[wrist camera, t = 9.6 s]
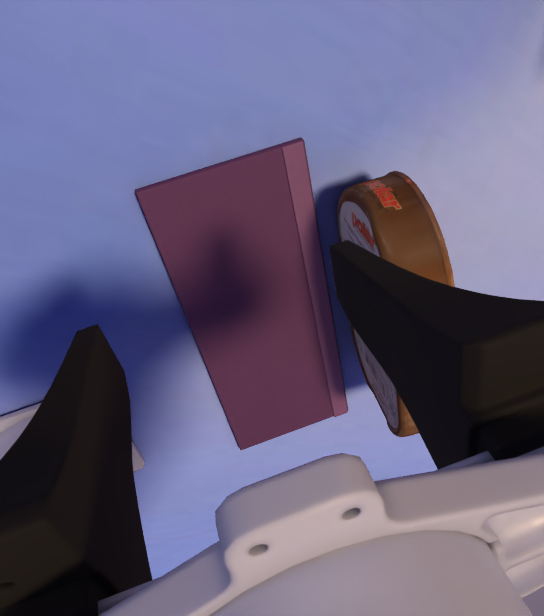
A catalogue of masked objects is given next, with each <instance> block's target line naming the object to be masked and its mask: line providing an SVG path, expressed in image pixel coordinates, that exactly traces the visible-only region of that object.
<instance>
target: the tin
mask: <svg viewBox="0 0 544 616" xmlns="http://www.w3.org/2000/svg"><path fill="white" fill-rule="evenodd" d="M337 217H338V230H339V238H340V242H343V241H346V240H349V241H351V242H353V243H355V244H357V245H359V246H360V247H362V248H364V249H366V250H368V251H370V252H371V253H373V254H375V255H377V256H379V257H381V258H383V259H385V260H387V261H389V262H391V263H393V264H395V265H397V266H399V267H401V268H404V269H406V270H408V271H410V272H413V273H415V274H418V275H420V276H422V277H425V278H428V279H431V280H433V281H437V282H440V283H443V284H446V285H449V286H452V287H455V286H454V280H453V273H452V268H451V264H450V260H449V256H448V251H447V249H446V245H445V241H444V238H443V235H442V232H441V230H440V227H439V224H438V222H437V220H436V218H435V215H434V213H433V211H432V209H431V207H430V205H429V203H428V202H427V200H426V198H425V197H424V195H423V194H422V192H421V190H420V189H419V188H418V186H417V185H416V184H415V183H414V182H413V181H412V180H411V179H410V178H409V177H408V176H407V175H405V174H404V173H401V172H398V171H393V172H390V173H388V174H387V175H386V176H383V177H380V178H376V179H373V180H369V181H366V182H362V183H359V184H356V185H353V186H351V187H349V188H347V189H346V190H344V192H343V193H342V194H341V196H340V199H339V203H338V214H337ZM350 325H351V323H350ZM351 330H352V335H353V340H354V344H355V348H356V352H357V356H358V359H359V362H360V365H361V369H362V371H363V374H364V377H365V380H366V382H367V384H368V386H369V388H370V389H371V391H372V392H373V394H374V395H375V397H376V399H377V401H378V403H379V406H380V408H381V410H382V412H383V414H384V416H385V418H386V420H387V425H388V427H389V429H390V430H391V432H392V433H393V434H394V435H396V436H398V437H406V436H410V435H414V434H417V433H419V431H418V429H417V427H416V425H415V423H414V422H413V420H412V418H411V416H410V414H409V412H408V410H407V408H406V407H405V405H404V403H403V401H402V399H401V398H400V396H399V394H398V392H397V390H396V389H395V387H394V385H393V383H392V382H391V380H390V379H389V377H388V376H387V374H386V372H385V371H384V370H383V368H382V367H381V365H380V364H379V363H378V361H377V360H376V359H375V357H374V356H373V354H372V353H371V352H370V350H369V349H368V347H367V346H366V345H365V343H364V342H363V340H362V339H361V338H360V336H359V335H358V333H357V332H356V331H355V329H354V328H353V326H352V325H351Z"/></svg>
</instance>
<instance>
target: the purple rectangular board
mask: <svg viewBox="0 0 544 616" xmlns="http://www.w3.org/2000/svg"><path fill="white" fill-rule="evenodd" d="M135 191H136V195H137V197H138V200H139V202H140V205H141V207H142V210H143V212H144V215H145V217H146V219H147V222H148V224H149V227H150V229H151V232H152V234H153V237H154V239H155V242H156V244H157V246H158V249H159V251H160V254H161V256H162V259H163V261H164V264H165V266H166V268H167V271H168V273H169V276H170V278H171V281H172V283H173V286H174V288H175V291H176V293H177V295H178V298H179V300H180V303H181V305H182V308H183V310H184V313H185V315H186V318H187V320H188V322H189V325H190V327H191V330H192V332H193V335H194V337H195V340H196V342H197V344H198V347H199V349H200V352H201V354H202V357H203V359H204V362H205V364H206V367H207V369H208V371H209V374H210V376H211V379H212V381H213V384H214V386H215V389H216V391H217V394H218V396H219V398H220V401H221V403H222V406H223V408H224V411H225V413H226V416H227V418H228V421H229V423H230V425H231V428H232V430H233V433H234V435H235V438H236V440H237V443H238V445H239V447H240V450H243V449H246V448H248V447H251V446H254V445H256V444H259V443H262V442H265V441H267V440H270V439H273V438H275V437H278V436H281V435H284V434H286V433H289V432H292V431H294V430H297V429H300V428H303V427H305V426H308V425H311V424H313V423H316V422H319V421H321V420H324V419H327V418H330V417H332V416H334V417H336V416H339V415H342V414H344V413H347V412H348V406H347V400H346V394H345V388H344V382H343V375H342V369H341V363H340V357H339V351H338V345H337V339H336V333H335V327H334V321H333V315H332V308H331V302H330V296H329V290H328V284H327V278H326V272H325V266H324V260H323V254H322V248H321V241H320V235H319V229H318V223H317V217H316V211H315V205H314V199H313V193H312V187H311V181H310V174H309V168H308V162H307V156H306V150H305V144H304V140H303V139H302V138H298V139H295V140H292V141H289V142H285V143H282V144H279V145H276V146H273V147H269V148H266V149H263V150H260V151H257V152H254V153H250V154H247V155H244V156H241V157H238V158H234V159H231V160H228V161H225V162H222V163H219V164H215V165H212V166H209V167H206V168H203V169H199V170H196V171H193V172H190V173H187V174H184V175H180V176H177V177H174V178H171V179H168V180H164V181H161V182H158V183H155V184H152V185H149V186H145V187H142V188H139V189H136V190H135Z"/></svg>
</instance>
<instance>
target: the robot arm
mask: <svg viewBox="0 0 544 616" xmlns="http://www.w3.org/2000/svg"><path fill="white" fill-rule="evenodd" d="M329 248H330V254H331V261H332V267H333V274H334V281H335V287H336V294H337V299H338V300H339V302H340V304H341V306H342V308H343V310H344V312H345V314H346V316H347V318H348V320H349V322H350V323H351V325H352V326H353V328H354V329H355V331H356V332H357V333H358V335H359V336H360V338H361V339H362V340H363V342H364V343H365V345H366V346H367V347H368V349H369V350H370V352H371V353H372V354H373V356H374V357H375V359H376V360H377V361H378V363H379V364H380V365H381V367H382V368H383V370H384V371H385V372H386V374H387V376H388V377H389V379H390V380H391V382H392V383H393V385H394V387H395V389H396V390H397V392H398V394H399V396H400V398H401V399H402V401H403V403H404V405H405V407H406V408H407V410H408V412H409V414H410V416H411V418H412V420H413V422H414V423H415V425H416V427H417V429H418V431H419V433H420V435H421V437H422V439H423V441H424V443H425V445H426V447H427V449H428V451H429V453H430V455H431V457H432V459H433V461H434V463H435V465H436V467H437V469H438V470H436V471H433V472H427V473H421V474H415V475H409V476H403V477H397V478H391V479H385V480H379V481H373V479H372V477H371V475H370V473H369V471H368V469H367V467H366V465H365V464H364V462H363V461H362V460H361V458H360V457H358V456H354V455H349V454H344V453H340V454H335V455H330V456H326V457H323V458H320V459H317V460H315V461H312V462H309V463H307V464H304V465H301V466H299V467H296V468H293V469H291V470H288V471H285V472H283V473H280V474H277V475H275V476H272V477H269V478H267V479H264V480H261V481H259V482H256V483H253V484H251V485H248V486H245V487H243V488H241V489H239V490H238V491H236V492H234V493H232V494H231V495H229V496H227V497H226V499H225V500H224V501H223V502H222V504H221V505H220V506H219V507H218V509H217V510H216V511H215V513H216V527H217V531H218V536H219V541H218V542H216V543H215V544H213V545H211V546H210V547H208V548H207V549H205V550H203V551H202V552H200V553H199V554H197V555H195V556H194V557H192V558H191V559H189V560H187V561H186V562H184V563H183V564H181V565H179V566H178V567H176V568H175V569H173V570H171V571H170V572H168V573H167V574H165V575H163V576H162V577H159V578H157V579H154V580H152V576H151V572H150V567H149V562H148V557H147V551H146V546H145V541H144V536H143V531H142V525H141V519H140V513H139V508H138V502H137V495H136V489H135V482H134V474H133V472H135V471H138V470H140V469H142V468H143V467H144V465H145V463H144V459H143V457H142V455H141V454H140V452H139V451H138V449H137V447H136V446H135V444H134V443H133V441H132V435H131V411H130V398H129V392H128V387H127V382H126V377H125V371H124V370H123V368H122V366H121V364H120V363H119V361H118V359H117V357H116V355H115V354H114V352H113V350H112V348H111V347H110V345H109V343H108V341H107V339H106V338H105V336H104V334H103V332H102V331H101V329H100V327H99V325H98V324H96V325H93V326H90V327H87V328H84V329H81V330H79V331H77V333H76V335H75V337H74V339H73V341H72V343H71V345H70V347H69V350H68V352H67V354H66V356H65V358H64V360H63V363H62V365H61V367H60V369H59V371H58V373H57V375H56V377H55V379H54V381H53V383H52V385H51V387H50V389H49V390H48V392H47V394H46V396H45V398H44V399H43V401H42V403H39V404H36V405H33V406H30V407H27V408H25V409H22V410H19V411H16V412H13V413H10V414H7V415H4V416H2V417H0V616H533V615H532V614H531V612H530V611H529V609H528V607H527V606H526V604H525V603H524V601H523V600H522V598H523V597H525V596H527V595H529V594H530V593H532V592H534V591H536V590H538V589H539V588H541V587H543V586H544V301H535V300H521V299H512V298H505V297H498V296H492V295H487V294H481V293H477V292H472V291H468V290H464V289H460V288H456V287H452V286H449V285H446V284H443V283H440V282H437V281H433V280H431V279H428V278H425V277H422V276H420V275H418V274H415V273H413V272H410V271H408V270H406V269H404V268H401V267H399V266H397V265H395V264H393V263H391V262H389V261H387V260H385V259H383V258H381V257H379V256H377V255H375V254H373V253H371V252H370V251H368V250H366V249H364V248H362V247H360V246H359V245H357V244H355V243H353V242H351V241H349V240H346V241H343V242H340V243H337V244H334V245H331V246H329Z"/></svg>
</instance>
